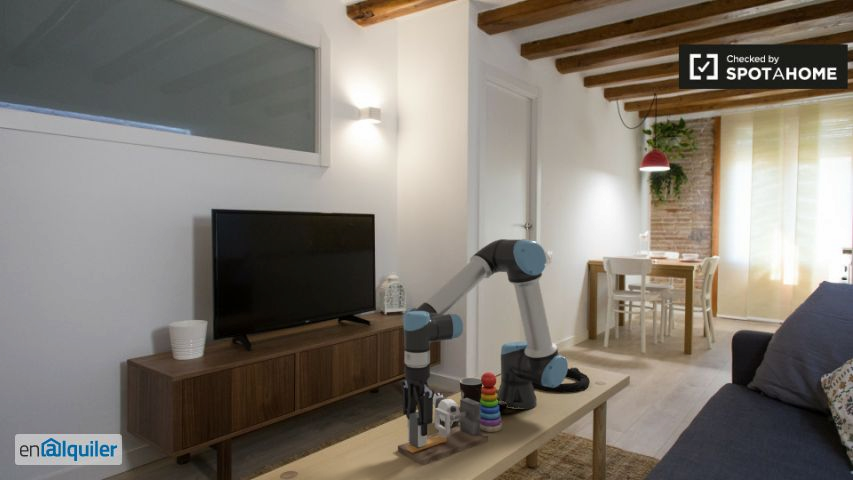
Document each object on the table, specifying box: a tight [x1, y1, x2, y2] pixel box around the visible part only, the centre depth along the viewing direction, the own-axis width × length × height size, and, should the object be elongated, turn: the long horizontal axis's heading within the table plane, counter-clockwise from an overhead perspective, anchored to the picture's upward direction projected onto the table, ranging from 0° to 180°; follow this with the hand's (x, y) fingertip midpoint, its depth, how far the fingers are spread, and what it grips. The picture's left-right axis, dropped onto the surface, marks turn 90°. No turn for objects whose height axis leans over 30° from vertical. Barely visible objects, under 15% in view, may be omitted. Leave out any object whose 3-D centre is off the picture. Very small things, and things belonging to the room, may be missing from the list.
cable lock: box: [532, 367, 590, 393], centre depth 221 cm, size 28×4×30 cm
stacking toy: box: [480, 371, 503, 433], centre depth 170 cm, size 8×8×19 cm
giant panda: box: [433, 391, 460, 428], centre depth 176 cm, size 15×6×10 cm, turn 27°
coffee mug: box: [459, 377, 483, 404], centre depth 188 cm, size 12×9×10 cm
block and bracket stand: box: [406, 407, 451, 453], centre depth 153 cm, size 13×6×10 cm, turn 128°
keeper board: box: [397, 398, 489, 466], centre depth 157 cm, size 26×12×12 cm, turn 128°
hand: (417, 442), depth 151 cm, fingers closed on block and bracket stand, 4 cm apart
